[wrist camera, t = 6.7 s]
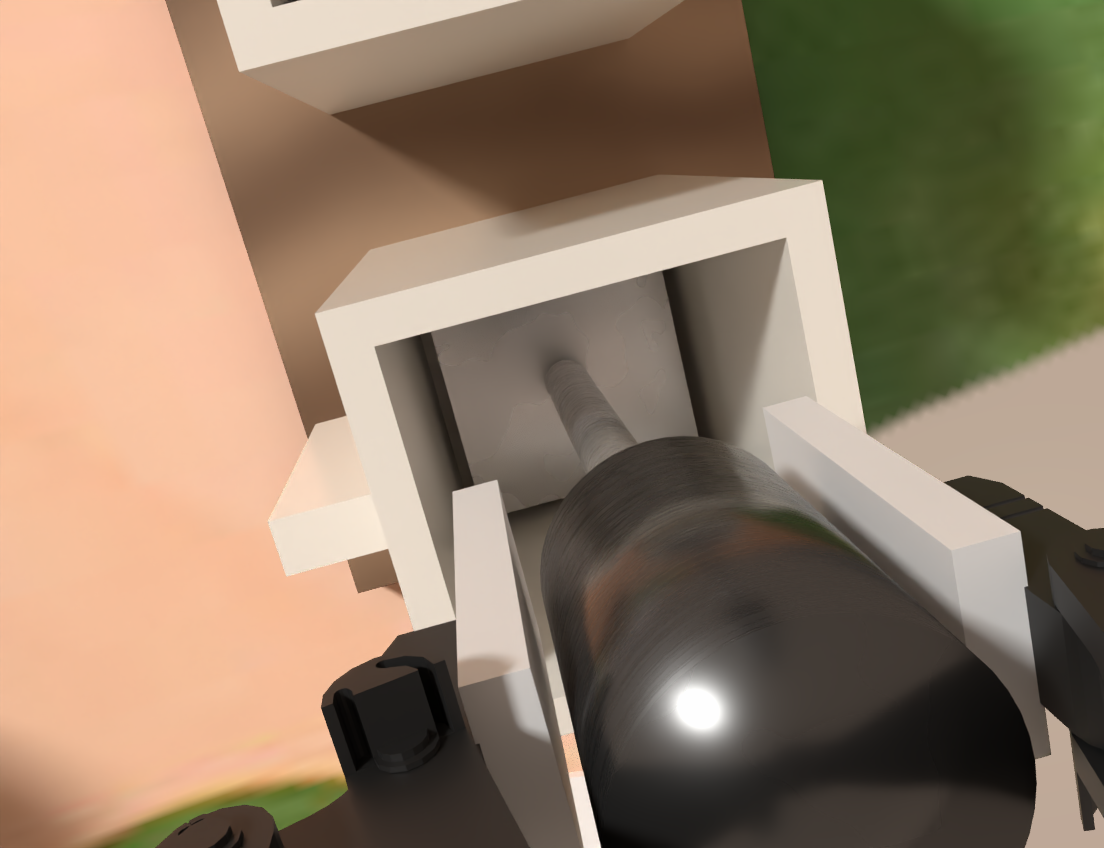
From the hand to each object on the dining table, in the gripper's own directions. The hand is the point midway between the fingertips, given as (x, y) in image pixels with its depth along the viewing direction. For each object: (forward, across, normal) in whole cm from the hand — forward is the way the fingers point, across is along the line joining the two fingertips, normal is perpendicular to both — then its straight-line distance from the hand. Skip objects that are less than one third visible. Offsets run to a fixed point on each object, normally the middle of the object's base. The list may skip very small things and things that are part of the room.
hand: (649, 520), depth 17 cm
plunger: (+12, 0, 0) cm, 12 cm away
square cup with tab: (+16, +1, 0) cm, 16 cm away
